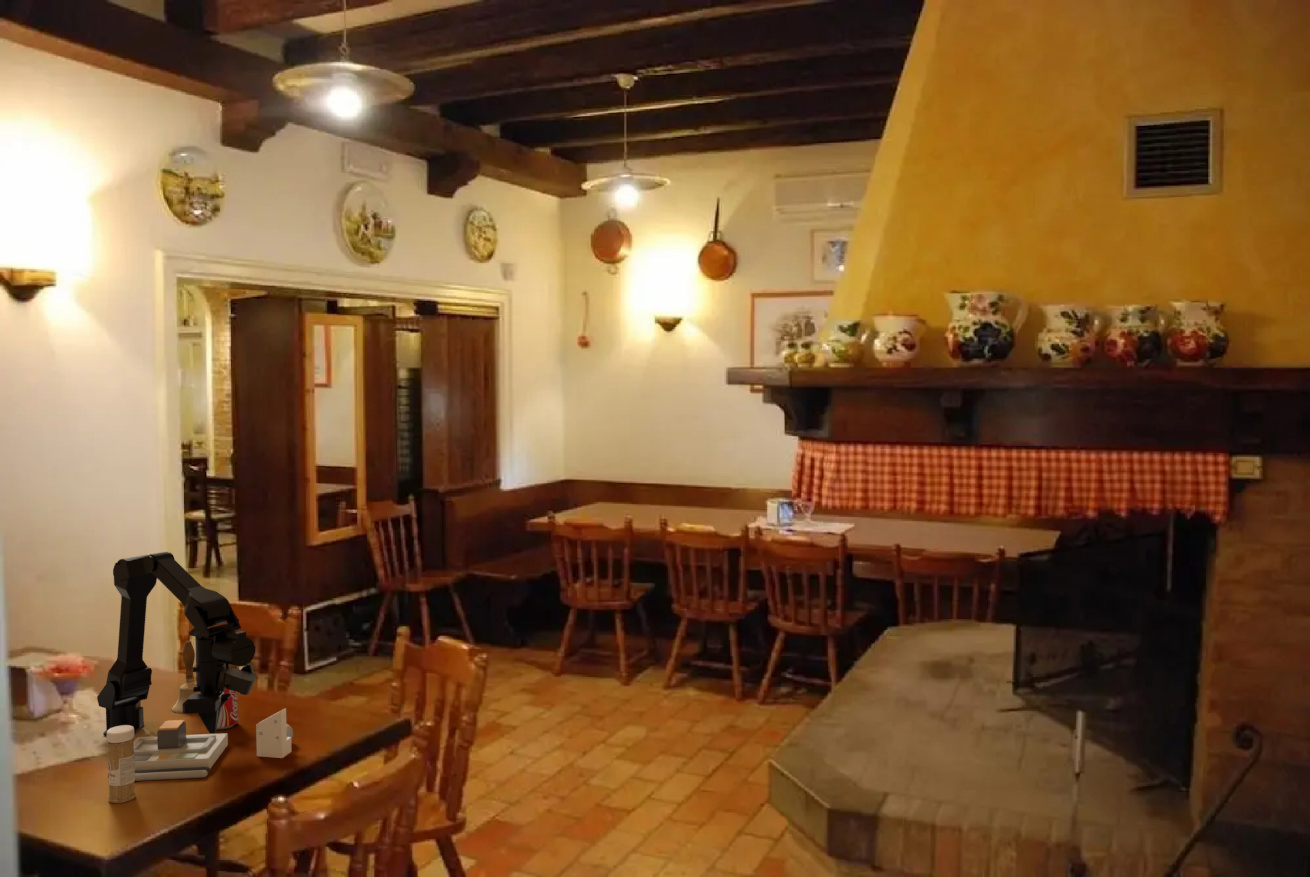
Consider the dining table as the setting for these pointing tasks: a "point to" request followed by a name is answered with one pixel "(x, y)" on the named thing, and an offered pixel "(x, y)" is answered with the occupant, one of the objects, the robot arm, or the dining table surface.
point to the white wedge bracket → (273, 736)
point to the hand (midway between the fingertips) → (212, 733)
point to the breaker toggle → (171, 734)
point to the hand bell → (186, 688)
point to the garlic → (289, 731)
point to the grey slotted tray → (179, 752)
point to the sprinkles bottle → (121, 763)
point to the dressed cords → (171, 773)
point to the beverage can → (229, 711)
